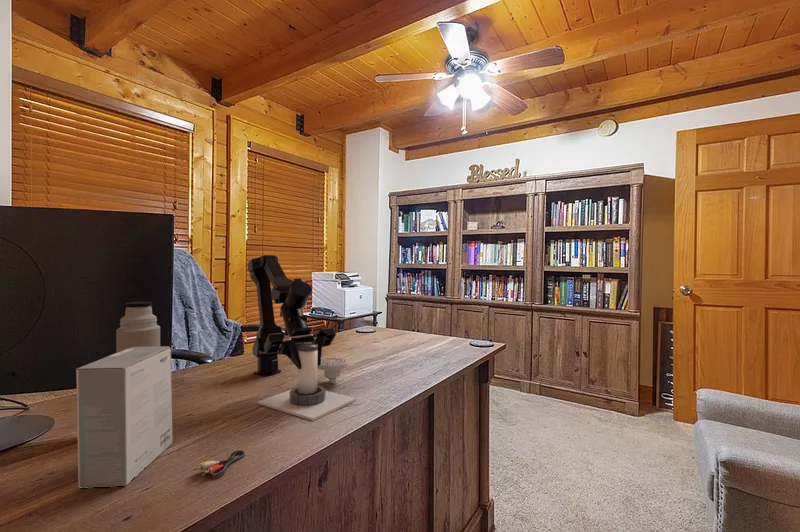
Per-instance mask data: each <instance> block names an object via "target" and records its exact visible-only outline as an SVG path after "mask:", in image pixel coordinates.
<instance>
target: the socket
mask: <svg viewBox="0 0 800 532" xmlns="http://www.w3.org/2000/svg"><path fill="white" fill-rule="evenodd" d="M356 401H357V397H353V396H348V395H345V394H341V393H336V392H333V391H330V390H329V391H328V390H326V388H325V387H324V386H320V385H317V391H316V392H315V393H311V394H301V393H299V392H298V386H297V387H294V388H292V389H289V390H287V391H283V392H280V393H277V394H275V395H273V396H269V397H267V398H263V399H261V400H258V401H257V405H261V406H264V407H267V408H270V409H273V410H277V411H279V412H283V413H286V414H289V415H293V416H296V417H300V418H301V419H305V420H309V421H312V422H314V421H315V420H318V419H321V418H322V417H324V416H327V415H329V414H331V413H333V412H335V411H337V410H339V409H342V408H343V407H346V406H348V405H350V404H352V403H354V402H356Z"/></svg>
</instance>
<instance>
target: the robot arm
mask: <svg viewBox="0 0 800 532" xmlns="http://www.w3.org/2000/svg"><path fill="white" fill-rule="evenodd" d="M278 257H279V256H277V255H275V254H273V255H271V254H263V255H260V256H258V257H255V258H251V259H250V260H249V261H248V262H247V271H248V272H249V276H250V279H251V281H252V282H253V283H254V284H255V287H256V288H255V289H256V297H257V306H258V314H259V328H258V331H257V332H256V334H255V340H254V343H253V345H252V348H251V349H252V355H253V356H254V357H255V358H257V370H255V371H253V374H255V375H260V376H264V377H268V376H271V375H274V374H278V373H281V372H282V369H279V359H278V358H279V357H278V356H279V355H284V356H286V357H287V358H288V359H289V360H290V361H291V362H292V363H293V365H295V367H296V368H297V370H298V369H301V362H300V358H299V355H298V345H300V344H305V343H314V344H318V366H320V364H321V359H322V351H323V347H329V346H331V344H332V343H333V341H334V340H335V337H336V336H337V333H336V330H335V328H334V327H323V328H319V330H318V333H317V334H316V333H314V334H311V332H312V328H311V327H310V326H309V325H308V323H307V319H308V317H307V314H306V315H305V314H304V312H303V308H305V307H306V305H307V303H308V300H309V299H310V296H311V293H312V290H313V289H312V286H311V285H310V284H308V283H307V282H306V281H302V278H293V279H291V278H288V276H287V275H286V273H285V272H284V270H283V268H282V266H281V264H280V263H279V258H278ZM273 302H274V303H273ZM274 304H280V308H279V310H280V313H279V316H280V317H282V320H283V323H284V332H282V327H281V326H280V325H279V326H278V325H277V323H276V322H275V321H276V320H275V311H274Z"/></svg>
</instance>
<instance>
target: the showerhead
mask: <svg viewBox="0 0 800 532" xmlns="http://www.w3.org/2000/svg"><path fill="white" fill-rule="evenodd" d="M348 365H349V363H348V360H346V359H345V358H340V357H327V358H323V359H322V358H321V364H320V366H318V370H320V371H324V372H323V373H324V374H323V375H324V377H325V378H327V379H328V383H329V384H336V382H337V381H336V380H337V378H339V377H340V376H341V370H344V369H347V368H348Z"/></svg>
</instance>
